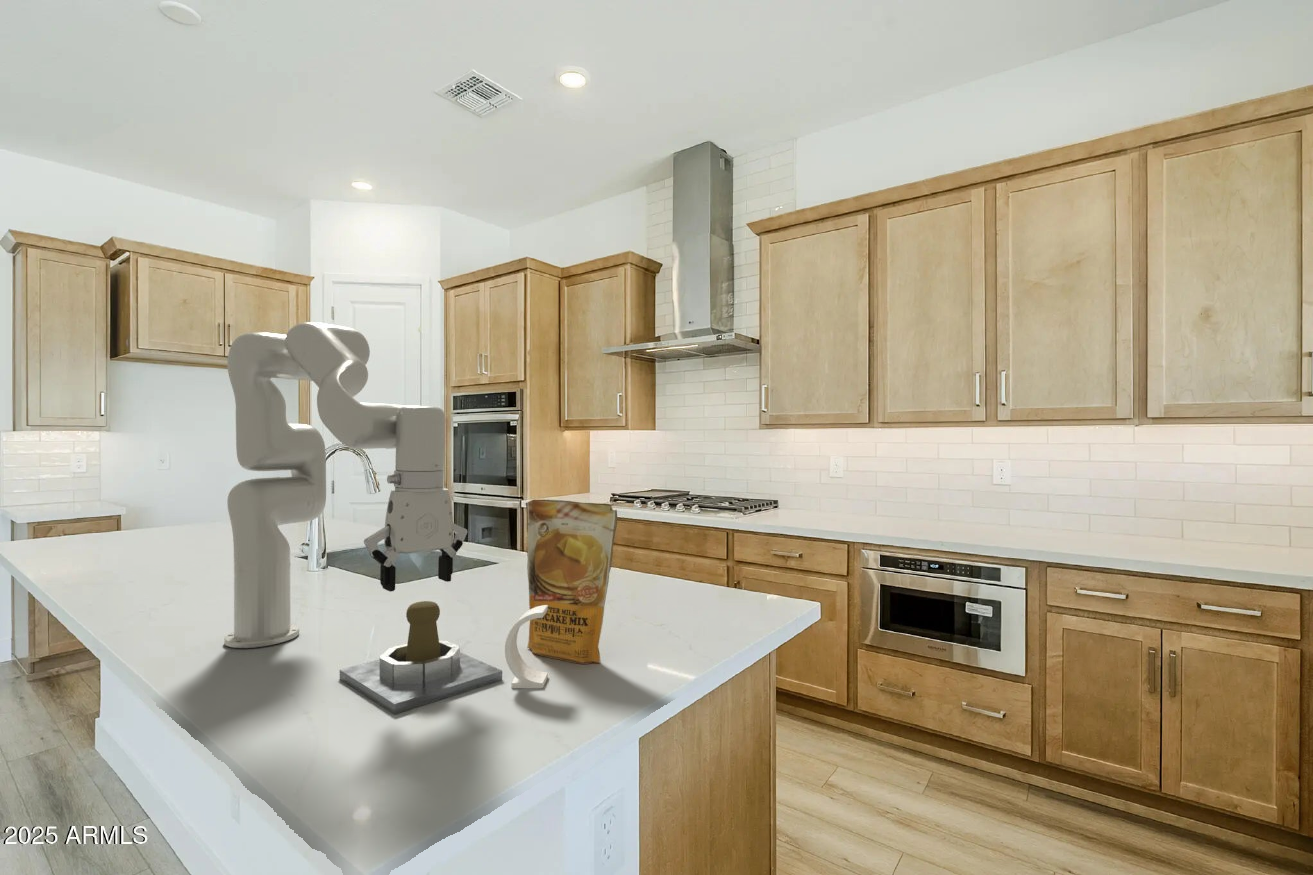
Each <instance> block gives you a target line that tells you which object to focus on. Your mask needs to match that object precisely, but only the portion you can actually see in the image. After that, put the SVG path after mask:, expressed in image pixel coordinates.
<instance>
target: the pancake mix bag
mask: <svg viewBox="0 0 1313 875" xmlns="http://www.w3.org/2000/svg"><path fill="white" fill-rule="evenodd" d="M525 506H526V507H525V508H526V509H525V510H526V534H527V538H526V539H527V540H526V545H527V546H526V553H527V581H528V596H529V598H528V600H529V601H528V602H529V603H528V606H529V610H530V609H532V608H535V607H538V606H542V605H548V611H547V612H546V613H545V615H544V616H543V618H536V619H532V620H530V621H529V629H528V643H527V647H526V648H527V649H529V650H531V653H532V654H534V655H538V656H542V657H546V658H550V659H555V660H558V661H559V660H561V661H565V662H569V663H573V664H579V665H580V664H581V665H587V664H592V663H602V662H601V653H600V649H599V645H600V639H601V633H602V629H603V628H602V626H603V622H604V617H605V616H604V614H605V605H606V599H607V592H608V587H609V580H610V573H611V568H612V563H613V562H612V561H613V552H614V543H615V537H616V531H617V527H618V510H617V509H613V507H612V505H611V504H608V503H600V502H599V503H597V502H595V503H594V502H578V501H572V500H559V499H558V500H557V499H532V500H529V501H527V502H526V503H525Z"/></svg>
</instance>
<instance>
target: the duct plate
mask: <svg viewBox="0 0 1313 875" xmlns="http://www.w3.org/2000/svg"><path fill="white" fill-rule="evenodd" d="M439 644H440V652H441V657H438V658H434V659H431V660H427V661H423V662H405V658H406V651H407V643H402V644H400V645H395V646H392V647H389V648H388V649H387V650H385V651H384V653H382V654H381V655H380V656H379V659H376V660H373V661H369V662H365V663H362V664H357V665H353V666H349V667H346V668H342V669H339V679H340V680H341V681H342V682H344V683H346V684H347V685H348V686H350V687H352V688H353V689H355V690H356V691H358V692H359V693H361V694H363V696H365V697H367V698H368V699H370V700H372V701H373V702H374V703H376V704H378V705H379V706H381V707H382V708H384V709H385V710H386V711H388V712H390V713H392V714H393V715H398V714H401V713H403V712H407V711H409V710H413V709H417V708H420V707H421V706H426V705H428V704H430V703H431V704H433V703H434V702H438V701H440V700H444V699H448V698H450V697H453V696H456V695H460V694H462V693H463V694H464V693H466V692H469V691H471V690H475V689H477V688H481V687H483V686H486V685H490V684H493V683H497V682H499V681H503V670H502V669H500V668H497V667H496V666H493V665H490V664H488V663H486V662H483V661H481V660H479V659H477V658H474V657H472V656H469V655H467V654H466V653H463V652H461V647H460V646H459V645H457V644H455V643H453V642H450V641H448V640H439Z"/></svg>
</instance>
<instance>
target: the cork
mask: <svg viewBox="0 0 1313 875" xmlns="http://www.w3.org/2000/svg"><path fill="white" fill-rule="evenodd" d="M405 616H406V617H405V618H406V619H407V620H406V621H407V622H408V624H409V629H408V637H407V643H406V644H407V651H406V658H405V662H423V661H427V660H431V659H434V658H438V657H441V652H440V644H439V641H440V639H439V632H438V630H439V629H438V623H437V621H439V620H438V619H439V618H440V616H441V609H440V606H439V605H438V603H436V601H430V600H428V601H427V600H422V601H417V602H414V603H411V604H409V605H408V607H407V609H406V614H405Z"/></svg>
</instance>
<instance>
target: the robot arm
mask: <svg viewBox="0 0 1313 875" xmlns="http://www.w3.org/2000/svg"><path fill="white" fill-rule="evenodd" d="M370 351H371V350H370V346H369V342H368V340H367V339H366V337H365V336H364V335H363V334H362V333H361V332H359V330H356V329H354V328H352V327H351V328H350V327H347V326H342V325H335V324H328V323H323V322H314V321H313V322H312V321H308V322H307V321H306V322H305V321H304V322H301V323H297V324H296V325H294V326H292V327H291V328H290V329H289V330H288V331H287V332H286V334H281V333H271V332H247V333H243V334H241V335H240V336H239V335H238V337H236V338H235V339H234V340H233V342H232V343H231V344H230V347H229V350H228V355H227V373H228V378H229V382H230V384H231V388H232V391H233V392H232V393H233V396H234V399H235V400H234V403H235V444H236V445H235V446H236V447H235V448H236V458H237V462H238V464H239V465H240V466H241V468H243V469H245V470H247V471H253V472H271V471H272V472H275V471H276V472H277V471H290V473H291V476H285V477H284V476H283V477H280V476H277V477H275V476H274V477H262V478H260V477H259V478H258V477H257V478H250V479H247V480H243V481H241V482H239V483H237V484H236V485H234V486H233V487H232V488H231V490H230V491H229V493H228V496H227V500H226V501H227V512H228V515H229V520H230V525H231V532H232V537H233V538H232V539H233V540H232V541H233V631H232V632H230V633H228V634H227V635H226V636H225V637H224V645H225V646H226V647H230V648H235V649H253V648H254V649H255V648H261V647H268V646H274V645H278V644H283V643H284V642H288V641H291V640H292V639H294V638H296V637H297V636H299V635H300V627H299V626H298V625H297V624H291V547H290V544H289V541H288V539H287V538H286V537H285V535H284V534H283V533H282V532H281V530H280V528H279V526H282V525H289V524H296V523H305V522H310V521H314V520H315V519H318V518H319V517H320V516H321V515H322V514H323V512H324V510H325V506H326V503H327V502H326V501H327V461H326V459H327V456H326V455H327V453H326V444H325V441H324V438H323V436H322V434H321V432H320V431H319V430H318V429H317V428H315V427H314V426H312V425H311V424H304V423H288V421H287V405H286V400H285V397H284V395H283V393H282V391H281V389H280V388H278V386H277V385H276V384H275V382H274V381H273V380H272V379H284V380H297V381H307V382H308V381H309V382H313V383H314V385H315V386H317V387H318V390H317V395H316V406H317V412H318V416H319V419H320V421H321V422H322V424H323V425H324V426H325V427H326V428H327V429H328V431H329V432H330V433H331V434H332V436H334V438H336V439H337V440H338V441H339V443H341V444H343V445H344V446H347V447H348V448H352V449H357V450H366V449H368V450H369V449H370V450H371V449H386V450H387V449H390V450H391V449H392V450H393V449H395V469H394V471H393V474H389V475H387V477H386V481H387V484H391V485H393V487H394V489H391V490H390V494H389V498H388V502H387V507H386V514H385V521H384V522H385V523H384V527H382V528H380V529H379V530H377V531H376V532H374V533H372V534H371V535H369V536H367V537H366V538H365V539H364V540H363V543H364V545H365V548H366V549H367V551H368V552H369V556H370V557H371V558H372V559H374V560H375V561H376V562H377V563H378V564H379V565H380V570H379V572H380V575H379V576H380V577H379V578H380V579H379V584H380V586H382V589H383V590H386V591H387V592H390V593H391V592H395V590H396V572H397V571H396V569H397V568H396V566H394V565H393V564H394V563H395V561H396V560H397V559H398V557H399V556H400V555H401V554H403V555H404V554H406V555H407V554H408V555H409V554H416V553H424V552H425V553H426V552H430V551H431V552H432V551H437V550H438V551H439V552H440V553H441V554H440V555H439V557H438V566H437V567H438V568H437V570H438V571H437V573H438V574H437V577H438V579H439V580H442V581H444V582H449V583H450V582H451V581H452V575H453V572H454V558H455V557H456V556H457V552H458V551H459V550H460V549H461V548H462V546H463V544H464V541H465V538H466V537H467V534H468V529H467V528H464V527H462V526H460V525H458V524H456V523H454V518H453V516H454V515H453V506H452V501H451V495H450V491H449V489H448V488H445V486H444V484H445V482H444V481H445V478H444V477H445V446H446V445H445V438H446V414H445V411H444V410H443V409H442V408H441V407H437V406H427V405H404V404H391V403H377V402H375V403H372V402H359V401H357V400H356V399H355V398H354V397H356V396H357V395H358V394H359V393H360V392H361V391H363V389H364V388H365V386H366V385H367V382H368V379H369V370H368V368H367V366H366V365H367V363H368V362H369V359H370V353H371V352H370ZM454 534H455V535H454ZM381 541H383V542H384V547H385V549H384V550H383V551H381V550H380V549H379V546H378V544H379V543H380V542H381Z"/></svg>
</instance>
